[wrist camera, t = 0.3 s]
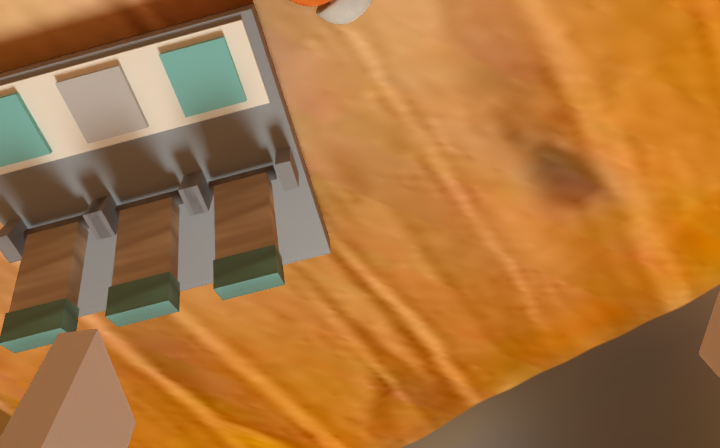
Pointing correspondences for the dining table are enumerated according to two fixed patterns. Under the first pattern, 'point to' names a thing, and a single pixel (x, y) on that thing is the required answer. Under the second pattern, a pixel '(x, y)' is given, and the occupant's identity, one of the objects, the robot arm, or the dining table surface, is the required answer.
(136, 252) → the lever
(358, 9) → the rainbow disc wheeled toy
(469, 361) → the dining table surface
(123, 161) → the switch board
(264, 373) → the dining table surface
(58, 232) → the lever
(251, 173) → the lever
